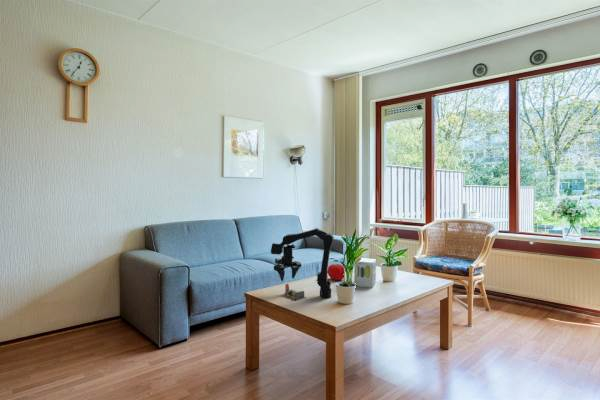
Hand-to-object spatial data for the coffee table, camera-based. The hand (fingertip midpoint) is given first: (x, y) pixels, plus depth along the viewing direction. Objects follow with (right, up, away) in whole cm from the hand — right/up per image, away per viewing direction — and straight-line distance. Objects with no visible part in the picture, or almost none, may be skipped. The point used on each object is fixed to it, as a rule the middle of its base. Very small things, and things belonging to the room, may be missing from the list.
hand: (287, 279), depth 226 cm
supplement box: (+53, -10, +29) cm, 61 cm away
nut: (+5, -10, -4) cm, 11 cm away
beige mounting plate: (+3, -10, -3) cm, 11 cm away
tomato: (+34, -9, +41) cm, 54 cm away
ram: (+1, -9, 0) cm, 9 cm away
